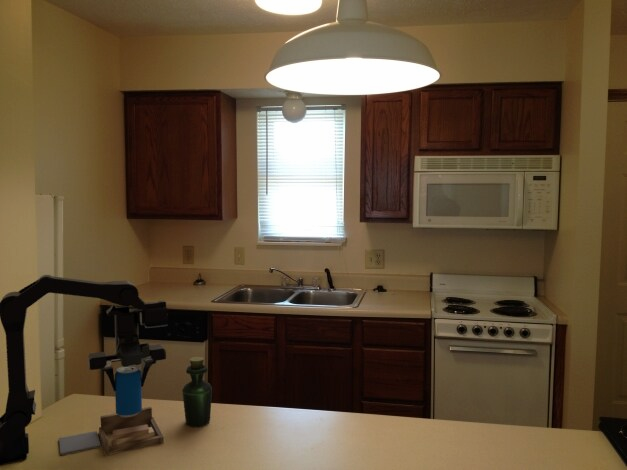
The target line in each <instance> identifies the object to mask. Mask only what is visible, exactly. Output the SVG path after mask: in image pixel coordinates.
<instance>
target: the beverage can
mask: <svg viewBox="0 0 627 470" xmlns="http://www.w3.org/2000/svg"><path fill="white" fill-rule="evenodd" d="M114 380H115V386H116V391H114V392H115V393H114V394H115V397H114V398H115V399H114V400H115V413H116V414H118V415H119V416H121V417H132V416H135V415H137V414H138V413H139V412H140V411H141V410H142V408H143V400H142V399H143V397H142V395H143V394H142V393H143V392H142V391H143V390H142V387H141V369H140V367H139V365H130V366H128V367H123V366H122V365H121V366H120V367H118V368H116V372H115V374H114Z"/></svg>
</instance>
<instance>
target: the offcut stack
mask: <svg viewBox="0 0 627 470" xmlns="http://www.w3.org/2000/svg"><path fill="white" fill-rule="evenodd" d="M151 437H156V435H155V433H154V430H153V429H152V427H151V426H150V427H149V425H141V426H135V427H129V428H124V429H118V430H113V432H112V439H111V440H110V446H114V445H118V444H123V443H128V442H132V441H137V440H142V439H146V438H151Z"/></svg>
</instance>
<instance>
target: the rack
mask: <svg viewBox="0 0 627 470" xmlns="http://www.w3.org/2000/svg"><path fill="white" fill-rule="evenodd" d="M141 425H148V426H149V425H150V427H152V429H153V430H154V434H155V437H151V438H146V439H142V440H137V441H132V442H128V443H123V444H118V445H114V446H111V445H110V446H109V443H108V440H107V435H106V434H109V433H113V430H118V429H124V428H129V427H135V426H141ZM98 436H99V439H100V441H101V442H100V443H101V446H102V450H103V453H104V456H110V455H112V454H117V453H120V452H125V451H130V450H136V449H139V448H140V449H141V448H144V447H147V446H148V447H149V446H153V445H158V444H164V443H165V438H164V435H163V433H162V431H161V429H160V427H159V426H158V424H157V421H156V420H155V418H154V417H153V409H152V406H148V407H142V410H141V411H140V412H139V413H138V414H137V415H135V416H132V417H121V416H119V415H118V414H116V412H114V413H111V414H105V415H100V426H99V427H98Z"/></svg>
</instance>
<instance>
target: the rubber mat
mask: <svg viewBox="0 0 627 470" xmlns="http://www.w3.org/2000/svg"><path fill="white" fill-rule="evenodd" d="M58 441H59V451H60V456H64V455H68V454H74V453H78V452H79V453H80V452H83V451H87V450H93V449H98V448H101V446H102V445H101V442H100V441H101V440H100V437H99V433H98V431H97V430H93V431H90V432H84V433H79V434H74V435H70V436H69V435H68V436H63V437H59V438H58Z"/></svg>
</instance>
